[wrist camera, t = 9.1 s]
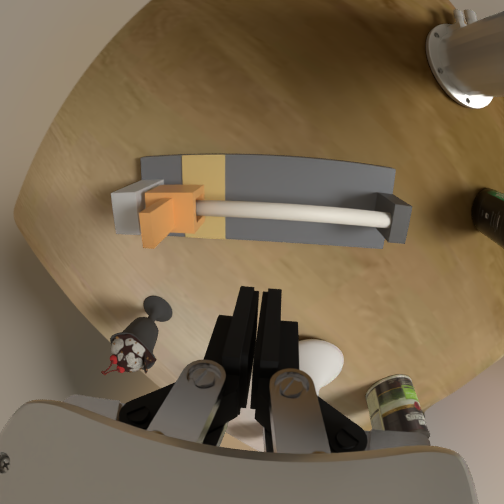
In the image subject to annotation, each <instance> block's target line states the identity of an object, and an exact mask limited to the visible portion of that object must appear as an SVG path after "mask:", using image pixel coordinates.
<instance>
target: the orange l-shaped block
mask: <svg viewBox="0 0 504 504" xmlns="http://www.w3.org/2000/svg"><path fill="white" fill-rule="evenodd" d="M196 200H205V197H204V185H160V186H158V187H155V188H153V189H151V190H149V191H147V192H145V204H146V209H144V210H143V211H141V212H140V213H139V218H140V227H141V235H142V242H143V248H152V249H154V248H155V247H156V246H157V245H158V244H159V243H160V242H161V241H162V240H163V239H164V238H165V237H166V236H167V235H168V234H169V233H191V234H195V233H196V231H197V230H198V229H199V228H200V226H201V225H202V224H203V223H204V222H205V216H196Z"/></svg>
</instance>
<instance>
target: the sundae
mask: <svg viewBox="0 0 504 504" xmlns="http://www.w3.org/2000/svg"><path fill="white" fill-rule="evenodd" d="M144 309H145V311H146V313H147V314H148V315H149V317H148V318H147V317H139V318H137V319H135V320H134V321H133V322H132V323H131V324H130V325H129V326H128V327H127V328H126V329H125V330H124V331H123V332H122V333H117V334H114V335H112V337H111V338H110V341H111V351H112V356H111V357H110V361H111V364H110V366H109V368H110V367H111V365H112V363H113V364H117V365H118V366H117V370H112V371H118V372H120V373H123V372H125V371H126V372H134V371H137V370H139V369H143V370H144V371H145V373H147V371H148V370H147V369H149V368H151V367H152V366H153V365H154V363H155V361H156V358H155V356H154V355H153V349H154V346H155V343H156V340H157V337H158V328H157V326H156V324H155V323H154V322H155V320H156V321H160V322H164V321H168V320H169V319H170V318H171V317H172V309H171V307H170V305H169V304H168V303H167V302H166V301H165V300H164V299H162V298H160V297H157V296H150V297H148V298H146V299H145V301H144ZM109 368H108V369H109ZM108 369H107V370H108ZM107 370H106V371H107ZM106 371H102V372H101V373H102V374H104V375H106V374H107V373H109V372H111V371H109V372H107V373H105V372H106Z"/></svg>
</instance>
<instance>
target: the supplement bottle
mask: <svg viewBox="0 0 504 504" xmlns="http://www.w3.org/2000/svg"><path fill="white" fill-rule="evenodd" d="M472 220H473V224H474V226H475V227H476V229H477V230H478V231H480V232H481V233H482V234H484V235H485V236H487V237H488V238H490V239H491V240H493V241H494V242H495V243H497V244H498V245H500V246H501V247H502V248H504V194H503V193H501V192H498V191H496V190H493V189H490V188H486V189H483V190H482V191H480V192H479V193H478V195H477V196H476V198H475V200H474V202H473V206H472Z"/></svg>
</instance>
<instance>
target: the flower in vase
mask: <svg viewBox="0 0 504 504" xmlns="http://www.w3.org/2000/svg"><path fill="white" fill-rule="evenodd" d="M343 362H344V357H343V354H342V352H341V351H340V349H339V348H338V347H336V346H335V345H333V344H331V343H329V342H327V341H324V340H318V339H306V340H301V341H299V370H302V371H303V372H305V373H307V374H308V375H309V376H310V377H311V378H312V380H313V382H314V386H315V390H316V394H317V396H319V394H318V393H319V389H320V388H321V387H323V386H325V385H327V384H329V383H330V382H331V381H333V380H334V379H335V378H336V377H337V376H338V374H339V373H340V371H341V369H342V366H343Z"/></svg>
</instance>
